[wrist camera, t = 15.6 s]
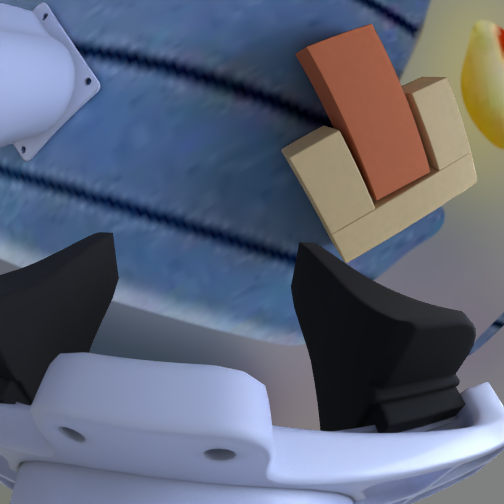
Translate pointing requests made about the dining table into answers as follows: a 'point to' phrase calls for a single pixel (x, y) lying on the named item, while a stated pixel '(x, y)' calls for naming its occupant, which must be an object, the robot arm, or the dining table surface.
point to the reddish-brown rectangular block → (367, 108)
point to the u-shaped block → (399, 201)
